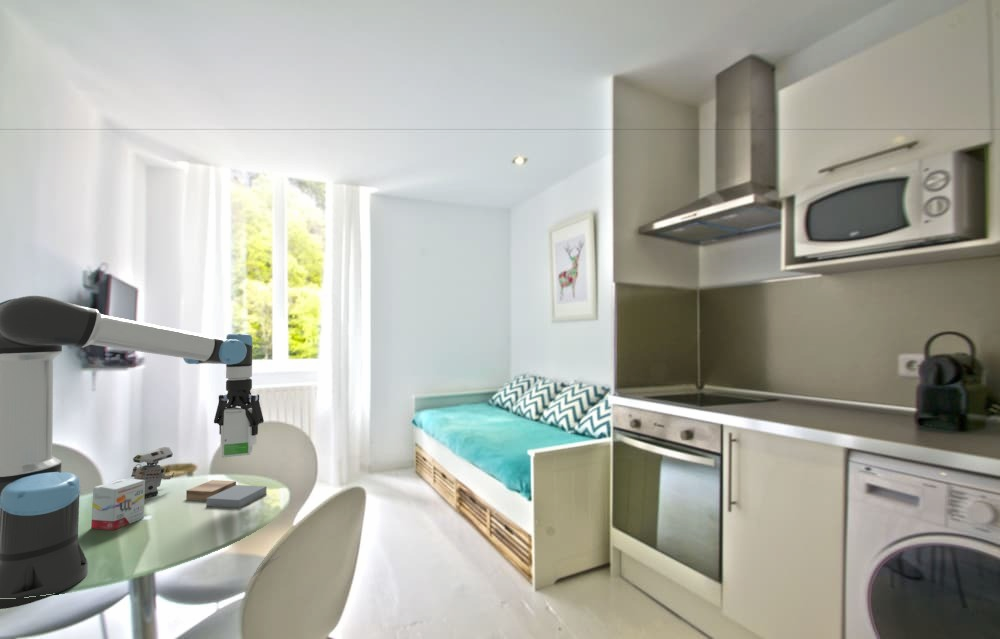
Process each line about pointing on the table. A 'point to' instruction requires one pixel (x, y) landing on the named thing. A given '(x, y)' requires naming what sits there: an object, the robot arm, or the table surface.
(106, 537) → the table surface
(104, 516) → the ink box
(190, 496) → the walnut stand
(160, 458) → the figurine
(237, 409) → the skincare box
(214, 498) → the slate slab
